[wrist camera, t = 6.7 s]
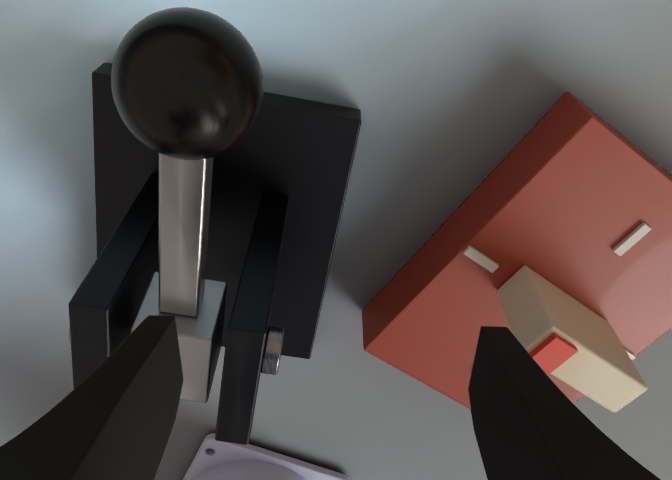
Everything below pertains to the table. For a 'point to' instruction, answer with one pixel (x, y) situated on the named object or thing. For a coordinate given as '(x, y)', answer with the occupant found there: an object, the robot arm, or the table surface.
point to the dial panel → (536, 251)
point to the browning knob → (569, 340)
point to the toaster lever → (187, 160)
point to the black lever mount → (223, 239)
